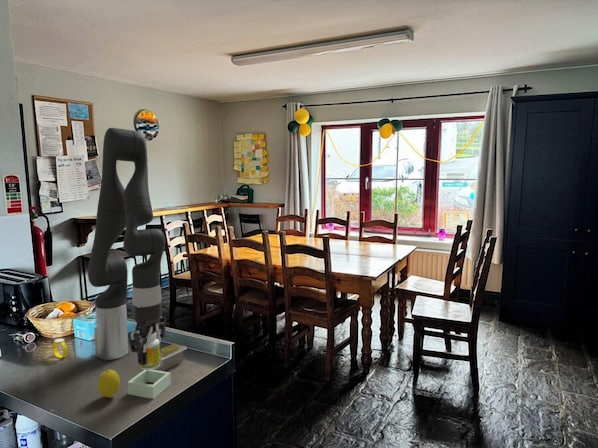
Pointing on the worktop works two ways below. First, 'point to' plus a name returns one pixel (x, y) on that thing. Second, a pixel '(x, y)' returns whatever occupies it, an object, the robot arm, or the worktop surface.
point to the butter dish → (172, 355)
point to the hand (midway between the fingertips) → (149, 359)
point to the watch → (65, 351)
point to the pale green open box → (147, 390)
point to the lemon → (108, 383)
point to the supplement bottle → (152, 353)
